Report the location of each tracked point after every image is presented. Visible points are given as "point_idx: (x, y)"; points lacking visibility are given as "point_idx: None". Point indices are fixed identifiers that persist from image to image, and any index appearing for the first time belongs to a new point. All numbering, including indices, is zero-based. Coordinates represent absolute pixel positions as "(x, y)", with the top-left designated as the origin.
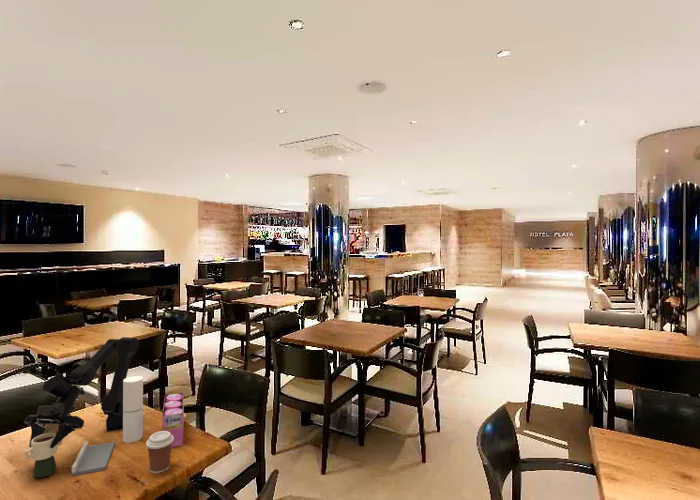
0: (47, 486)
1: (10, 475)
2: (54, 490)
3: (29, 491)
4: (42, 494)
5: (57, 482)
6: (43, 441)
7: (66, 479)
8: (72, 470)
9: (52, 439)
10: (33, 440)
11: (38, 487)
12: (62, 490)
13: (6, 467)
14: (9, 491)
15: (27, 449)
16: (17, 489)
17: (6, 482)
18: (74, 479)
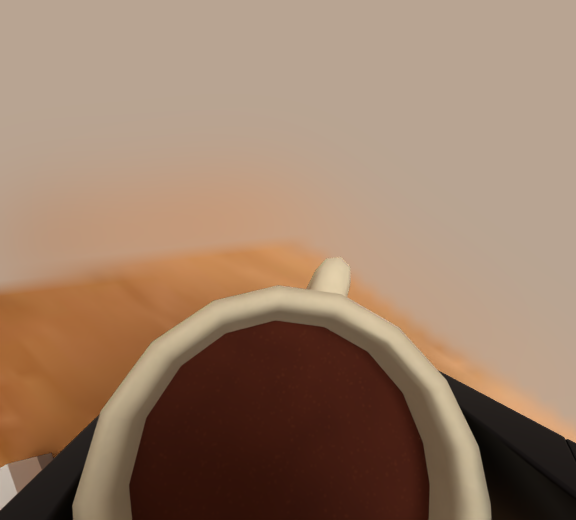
0: (136, 328)
1: (452, 371)
2: (63, 306)
3: (201, 276)
4: (107, 268)
5: (104, 373)
6: (292, 459)
7: (65, 413)
8: (21, 463)
9: (85, 484)
10: (410, 378)
11: (182, 311)
12: (12, 314)
13: (572, 435)
14: (303, 259)
15: (335, 271)
16: (280, 278)
17: (400, 314)
18: (5, 425)
